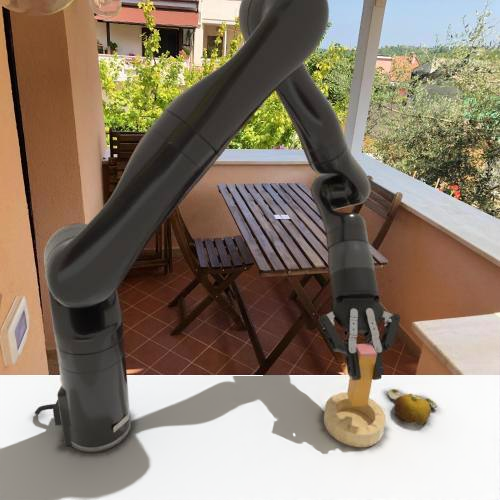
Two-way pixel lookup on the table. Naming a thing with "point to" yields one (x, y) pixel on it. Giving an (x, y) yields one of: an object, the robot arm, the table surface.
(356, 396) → the pencil
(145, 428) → the table surface
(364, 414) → the bowl
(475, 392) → the table surface
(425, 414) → the fruit
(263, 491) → the table surface
